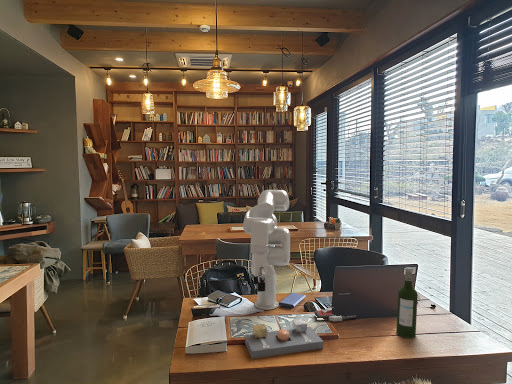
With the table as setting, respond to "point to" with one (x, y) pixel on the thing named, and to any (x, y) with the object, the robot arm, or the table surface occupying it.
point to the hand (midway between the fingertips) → (259, 287)
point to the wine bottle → (407, 308)
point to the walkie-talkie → (329, 315)
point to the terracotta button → (283, 335)
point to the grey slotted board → (282, 343)
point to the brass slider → (259, 331)
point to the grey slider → (299, 325)
